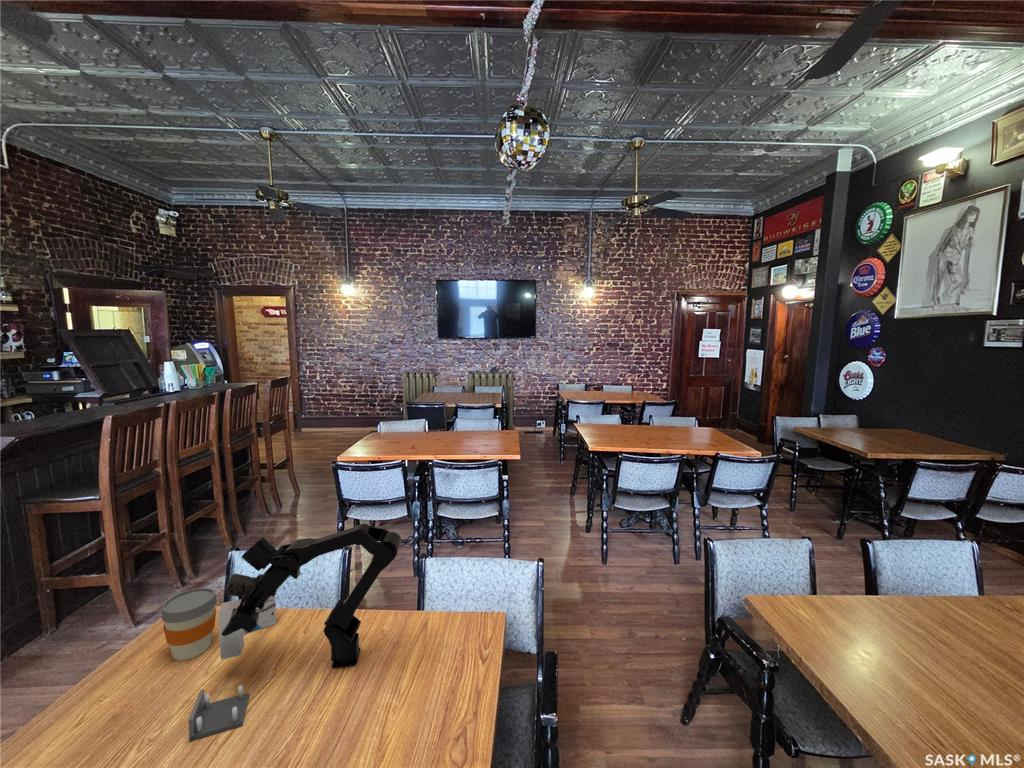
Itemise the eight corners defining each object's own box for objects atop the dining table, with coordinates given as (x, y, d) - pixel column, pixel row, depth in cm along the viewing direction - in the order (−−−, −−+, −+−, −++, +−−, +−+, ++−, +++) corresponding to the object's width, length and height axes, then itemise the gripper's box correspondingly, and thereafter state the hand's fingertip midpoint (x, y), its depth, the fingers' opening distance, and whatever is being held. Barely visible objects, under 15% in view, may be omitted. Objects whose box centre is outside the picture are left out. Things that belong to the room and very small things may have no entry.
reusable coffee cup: (224, 630, 128) (221, 584, 127) (210, 658, 116) (208, 607, 115) (174, 639, 124) (171, 591, 123) (155, 670, 112) (152, 617, 111)
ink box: (244, 634, 127) (242, 588, 125) (244, 625, 131) (242, 580, 130) (276, 624, 131) (275, 580, 130) (275, 615, 135) (274, 572, 134)
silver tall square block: (244, 644, 114) (241, 599, 113) (240, 655, 110) (238, 608, 109) (225, 648, 112) (222, 602, 111) (220, 659, 108) (218, 612, 107)
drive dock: (249, 696, 104) (248, 677, 104) (242, 725, 96) (241, 705, 95) (201, 709, 100) (200, 690, 100) (189, 741, 92) (188, 720, 91)
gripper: (252, 549, 119) (207, 594, 115) (238, 582, 102) (186, 637, 98) (284, 570, 123) (242, 614, 119) (276, 605, 106) (227, 658, 102)
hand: (225, 629), depth 110 cm, fingers closed on silver tall square block, 4 cm apart
